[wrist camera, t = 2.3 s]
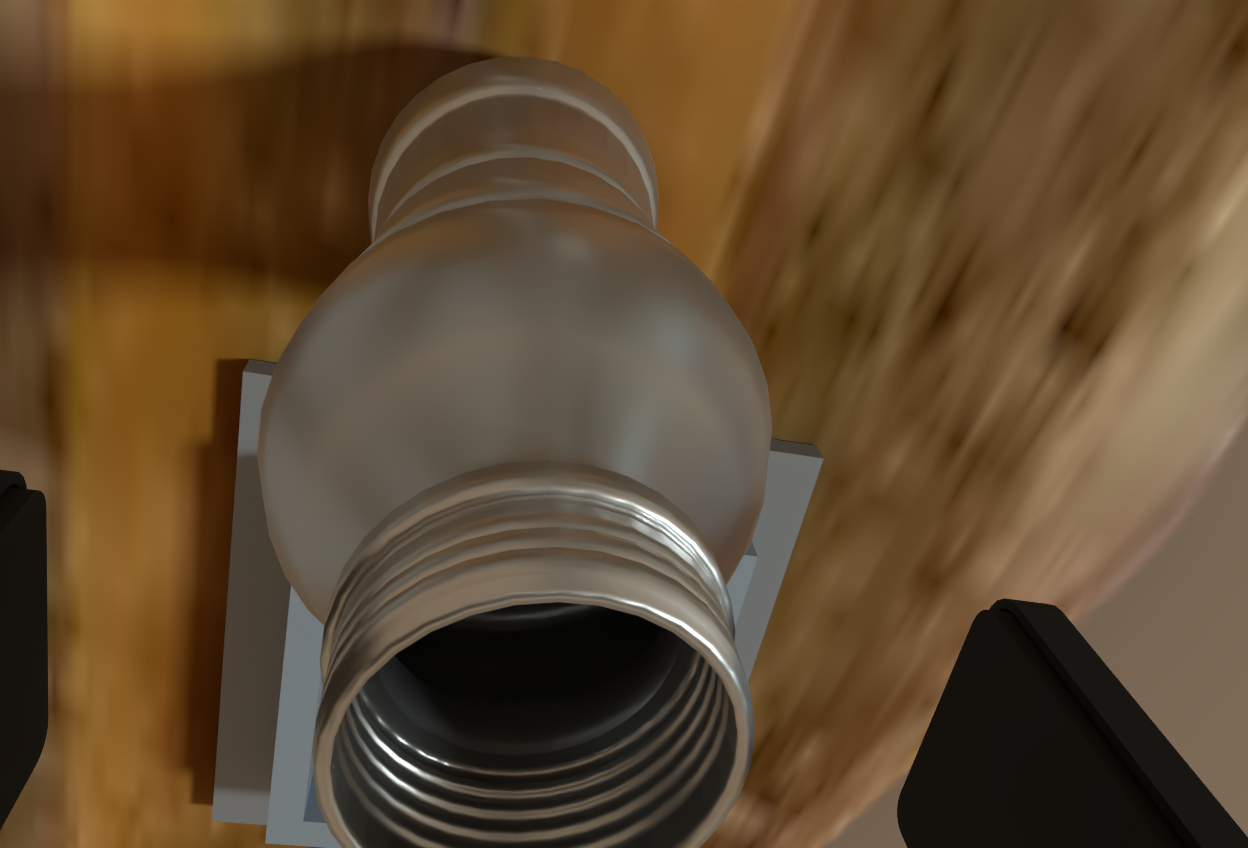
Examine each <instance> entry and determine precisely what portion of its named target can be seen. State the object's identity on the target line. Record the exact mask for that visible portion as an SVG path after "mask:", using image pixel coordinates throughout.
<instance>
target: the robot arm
mask: <svg viewBox="0 0 1248 848" xmlns="http://www.w3.org/2000/svg"><path fill="white" fill-rule="evenodd" d="M47 728H48V642H47V535H46V500H45V497H44V494H43V493H42V492H41V491H38V490H30V489H27V488H26V483H25V480H24V477H23V476H22V475H21V474H20V473H19V472H14V471H6V470H0V830H1V828H2V826H3V824H4V822H5V821H6V819H7V817H8V815H9V813H10V811H11V810H12V808H13V806H14V804H15V802H16V800H17V799H18V797H19V795H20V793H21V791H22V790H23V788H24V786H25V784H26V782H27V780H28V779H29V777H30V775H31V773H32V771H33V769H34V768H35V766H36V764H37V762H38V760H39V758H40V755H41V752H42V749H43V746H44V743H45V739H46V734H47ZM897 817H898V824H899V828H900V831H901V834H902V836H903V838H904V841H905V843H906V845H907V848H1248V837H1247V836H1246V835H1245V834H1244V832H1243V831H1242V830H1241V829H1240V827H1239V826H1238V825H1237V824H1236V823H1235V821H1234V820H1233V819H1232V818H1231V816H1230V815H1229V814H1228V813H1227V812H1226V811H1225V809H1224V808H1223V807H1222V805H1221V804H1220V803H1219V802H1218V801H1217V799H1216V798H1215V797H1214V796H1213V795H1212V793H1211V792H1210V791H1209V790H1208V788H1207V787H1206V786H1205V785H1204V784H1203V782H1202V781H1201V780H1200V779H1199V777H1198V776H1197V775H1196V774H1195V773H1194V771H1193V770H1192V769H1191V768H1190V767H1189V765H1188V764H1187V763H1186V762H1185V760H1184V759H1183V758H1182V757H1181V756H1180V754H1179V753H1178V752H1177V751H1176V749H1175V748H1174V747H1173V746H1172V745H1171V744H1170V742H1169V741H1168V740H1167V739H1166V737H1165V736H1164V735H1163V734H1162V732H1161V731H1160V730H1159V729H1158V728H1157V726H1156V725H1155V724H1154V723H1153V722H1152V720H1151V719H1150V718H1149V717H1148V715H1147V714H1146V713H1145V712H1144V711H1143V709H1142V708H1141V707H1140V706H1139V704H1138V703H1137V702H1136V701H1135V700H1134V698H1133V697H1132V696H1131V695H1130V694H1129V692H1128V691H1127V690H1126V689H1125V687H1124V686H1123V685H1122V684H1121V683H1120V681H1119V680H1118V679H1117V678H1116V676H1115V675H1114V674H1113V673H1112V672H1111V670H1109V668H1108V667H1107V666H1106V665H1105V663H1104V662H1103V661H1102V660H1101V658H1100V657H1099V656H1098V655H1097V653H1096V652H1095V651H1094V650H1093V649H1092V647H1091V646H1090V645H1089V644H1088V642H1087V641H1086V640H1085V639H1084V638H1083V636H1082V635H1081V634H1080V633H1079V632H1078V630H1077V629H1076V628H1075V627H1074V625H1073V624H1072V623H1071V622H1070V621H1069V619H1068V618H1067V617H1066V616H1065V614H1064V613H1063V612H1062V611H1061V610H1060V609H1059V608H1057V607H1056V606H1054V605H1050V604H1043V603H1035V602H1028V601H1020V600H1012V599H1001V600H998V601H996V602H995V603H994V604H993V605H992V606H991V608H990V609H989V610H983V611H981V612H980V613H979V614H978V615H977V616H976V617H975V619H974V621H973V623H972V625H971V628H970V630H969V632H968V635H967V637H966V640H965V642H964V644H963V647H962V649H961V651H960V654H959V656H958V658H957V661H956V663H955V666H954V668H953V670H952V673H951V675H950V677H949V680H948V682H947V684H946V687H945V689H944V691H943V694H942V696H941V699H940V701H939V703H938V706H937V708H936V710H935V713H934V715H933V717H932V720H931V722H930V725H929V727H928V729H927V732H926V734H925V736H924V739H923V741H922V743H921V746H920V748H919V751H918V753H917V755H916V758H915V760H914V762H913V765H912V767H911V769H910V772H909V774H908V777H907V779H906V781H905V784H904V786H903V788H902V791H901V793H900V796H899V800H898V807H897Z"/></svg>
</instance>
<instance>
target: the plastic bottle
mask: <svg viewBox="0 0 1248 848" xmlns="http://www.w3.org/2000/svg"><path fill="white" fill-rule="evenodd" d="M368 208H369V225H370V237H371V245H370V246H369V247H368V248H367V249H366V250H365V251H364V252H363V253H362V254H361V255H360V256H359V257H358V258H357V259H356V260H354V261H353V262H352V263H350V264H349V266H348V267H347V268H346V269H345V270H344V271H343V272H342V273H341V274H340V275H339V276H338V277H337V278H336V279H335V281H334V282H333V283H332V284H331V285H330V286H329V287H328V288H327V289H326V290H325V291H324V292H323V293H322V294H321V296H320V297H319V298H318V299H317V300H316V302H315V304H314V305H313V307H312V308H311V310H310V311H309V312H308V314H307V315H306V316H305V318H304V319H303V320H302V322H301V324H300V325H299V327H298V329H297V330H296V332H295V334H294V335H293V337H292V339H291V340H290V342H289V344H288V345H287V347H286V349H285V350H284V352H283V354H282V355H281V357H280V359H279V360H278V362H277V364H276V366H275V369H274V372H273V375H272V378H271V381H270V384H269V387H268V390H267V393H266V396H265V399H264V402H263V405H262V408H261V416H260V427H259V438H258V449H257V460H258V467H259V474H260V481H261V488H262V495H263V502H264V508H265V514H266V520H267V526H268V532H269V537H270V539H271V542H272V544H273V547H274V549H275V552H276V555H277V557H278V560H279V562H280V565H281V567H282V570H283V573H284V575H285V577H286V578H287V580H288V581H289V583H290V584H291V586H292V587H293V589H294V590H295V592H296V593H297V595H298V596H299V597H300V599H301V600H302V602H303V603H304V605H305V606H306V608H307V609H308V611H309V612H310V613H311V614H312V615H313V616H314V617H316V618H317V619H318V620H319V621H320V622H321V623H322V624H323V625H324V631H323V639H322V647H321V654H320V669H321V677H322V685H323V690H322V695H321V700H320V704H319V709H318V713H317V718H316V725H315V732H314V740H313V748H312V756H313V763H314V766H313V774H314V782H315V789H316V796H317V803H318V805H319V807H320V810H321V812H322V815H323V817H324V819H325V822H326V824H327V826H328V829H329V831H330V833H331V834H332V835H333V837H334V838H335V839H336V841H337V842H338V843H339V845H340V846H341V847H342V848H700V846H701V845H702V844H703V843H704V842H705V841H706V840H707V839H708V838H709V837H710V836H711V835H712V834H713V833H714V832H715V830H716V829H717V828H718V827H719V826H720V825H721V824H722V822H723V821H724V819H725V818H726V816H727V815H728V813H729V811H730V810H731V808H732V807H733V805H734V804H735V802H736V800H737V799H738V797H739V796H740V793H741V790H742V788H743V785H744V782H745V779H746V777H747V774H748V771H749V769H750V766H751V760H752V751H753V742H754V726H753V710H752V703H751V697H750V690H749V683H748V681H747V678H746V675H745V672H744V670H743V667H742V664H741V661H740V658H739V655H738V652H737V649H736V646H735V644H734V641H735V631H736V630H735V623H734V616H733V610H732V603H731V598H730V595H729V592H728V589H727V586H726V585H727V583H728V582H729V581H730V579H731V577H732V576H733V574H734V572H735V570H736V569H737V567H738V565H739V563H740V561H741V560H742V558H743V556H744V554H745V553H746V551H747V549H748V547H749V546H750V544H751V541H752V538H753V535H754V532H755V529H756V526H757V523H758V520H759V517H760V514H761V511H762V508H763V505H764V497H765V488H766V479H767V471H768V461H769V452H770V442H771V433H772V421H771V412H770V404H769V395H768V387H767V381H766V378H765V376H764V373H763V370H762V367H761V365H760V362H759V359H758V356H757V353H756V351H755V348H754V345H753V342H752V340H751V338H750V337H749V335H748V334H747V332H746V331H745V329H744V328H743V326H742V324H741V323H740V321H739V320H738V318H737V317H736V315H735V314H734V312H733V310H732V309H731V307H730V306H729V304H728V303H727V301H726V300H725V299H724V298H723V296H722V295H721V294H720V293H719V292H718V290H717V289H716V287H715V286H714V285H713V283H712V282H711V281H710V280H709V279H708V278H707V277H706V276H705V275H704V274H703V273H702V272H701V271H700V270H699V269H698V268H697V267H696V266H695V265H694V264H693V263H692V262H691V261H690V260H689V259H688V258H687V257H686V256H685V255H684V254H683V253H682V252H681V251H680V250H679V249H678V248H676V247H674V246H673V245H672V244H671V243H670V242H669V241H667V240H666V239H665V238H664V237H663V236H661V235H660V234H659V233H658V232H657V221H658V183H657V177H656V171H655V164H654V159H653V156H652V154H651V151H650V148H649V146H648V143H647V140H646V138H645V135H644V133H643V131H642V130H641V128H640V127H639V125H638V124H637V122H636V120H635V119H634V117H633V116H632V114H631V112H630V111H629V110H628V109H627V107H626V106H625V105H624V104H623V103H622V102H621V101H620V100H619V99H618V98H617V97H616V96H615V95H614V94H613V93H612V92H611V91H610V90H609V89H608V88H606V87H605V86H603V85H602V84H600V83H599V82H597V81H596V80H594V79H593V78H591V77H590V76H588V75H587V74H585V73H583V72H581V71H578V70H576V69H573V68H571V67H568V66H566V65H564V64H561V63H559V62H555V61H549V60H544V59H538V58H533V57H497V58H493V59H488V60H484V61H480V62H475V63H471V64H467V65H465V66H463V67H461V68H459V69H457V70H454V71H452V72H450V73H448V74H446V75H443V76H441V77H440V78H438V79H437V80H436V81H434V82H433V83H431V84H430V85H429V86H427V87H426V88H425V89H423V90H422V91H421V92H419V93H418V94H416V95H415V97H414V98H413V99H412V100H411V101H410V102H409V103H408V104H407V105H406V106H405V108H404V109H403V110H402V111H401V112H400V113H399V114H398V115H397V116H396V118H395V120H394V121H393V123H392V125H391V126H390V128H389V130H388V131H387V133H386V135H385V136H384V138H383V140H382V142H381V144H380V147H379V150H378V153H377V156H376V159H375V162H374V165H373V167H372V172H371V180H370V187H369V195H368Z"/></svg>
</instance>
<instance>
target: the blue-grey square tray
mask: <svg viewBox="0 0 1248 848" xmlns="http://www.w3.org/2000/svg"><path fill="white" fill-rule="evenodd" d="M276 364H277V363H271V362H264V361H258V360H251V359H249V361H248V363H247V365H246V367H245V369H244V371H243V379H242V394H241V408H240V422H239V437H238V451H237V466H236V480H235V495H234V509H233V524H232V538H231V552H230V567H229V581H228V596H227V610H226V625H225V639H224V653H223V668H222V682H221V697H220V711H219V726H218V740H217V755H216V769H215V783H214V798H213V812H212V821H218V822H232V823H246V824H260V825H267V831H266V841H265V843H267V844H282V845H296V846H311V847H325V848H342V847H341V846H340V845H339V843H338V842H337V841H336V839H335V838H334V837H333V835H332V834H331V833H330V831H329V829H328V826H327V824H326V822H325V819H324V817H323V815H322V812H321V810H320V807H319V805H318V803H317V796H316V789H315V782H314V774H313V766H314V763H313V756H312V748H313V740H314V732H315V725H316V718H317V713H318V709H319V704H320V700H321V695H322V690H323V685H322V677H321V669H320V654H321V647H322V639H323V631H324V625H323V624H322V623H321V622H320V621H319V620H318V619H317V618H316V617H314V616H313V615H312V614H311V613H310V612H309V611H308V609H307V608H306V606H305V605H304V603H303V602H302V600H301V599H300V597H299V596H298V595H297V593H296V592H295V590H294V589H293V587H292V586H291V584H290V583H289V581H288V580H287V578H286V577H285V575H284V573H283V570H282V567H281V565H280V562H279V560H278V557H277V555H276V552H275V549H274V547H273V544H272V542H271V539H270V537H269V532H268V526H267V520H266V514H265V508H264V502H263V495H262V488H261V481H260V474H259V467H258V460H257V449H258V438H259V427H260V416H261V408H262V405H263V402H264V399H265V396H266V393H267V390H268V387H269V384H270V381H271V378H272V375H273V372H274V369H275V366H276ZM823 459H824V458H823V457H822V455H821V453H820V451H819V450H818V448H817V446H815V445H809V444H802V443H796V442H789V441H782V440H776V439H771V442H770V452H769V461H768V471H767V479H766V488H765V497H764V505H763V508H762V511H761V514H760V517H759V520H758V523H757V526H756V529H755V532H754V535H753V538H752V541H751V544H750V546H749V547H748V549H747V551H746V553H745V554H744V556H743V558H742V560H741V561H740V563H739V565H738V567H737V569H736V570H735V572H734V574H733V576H732V577H731V579H730V581H729V582H728V583H727V585H726V586H727V589H728V592H729V595H730V598H731V603H732V610H733V616H734V623H735V630H736V631H735V641H734V644H735V646H736V649H737V652H738V655H739V658H740V661H741V664H742V667H743V670H744V672H745V675H746V678H747V681H748V680H749V678H750V675H751V672H752V669H753V666H754V663H755V660H756V657H757V654H758V651H759V648H760V645H761V642H762V639H763V636H764V633H765V630H766V627H767V624H768V621H769V618H770V616H771V613H772V610H773V607H774V604H775V601H776V598H777V595H778V592H779V589H780V586H781V583H782V580H783V577H784V574H785V571H786V568H787V565H788V562H789V559H790V556H791V554H792V551H793V548H794V545H795V542H796V539H797V536H798V533H799V530H800V527H801V524H802V521H803V518H804V515H805V512H806V509H807V506H808V503H809V500H810V497H811V495H812V492H813V489H814V486H815V483H816V480H817V477H818V474H819V471H820V468H821V465H822V462H823Z"/></svg>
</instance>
